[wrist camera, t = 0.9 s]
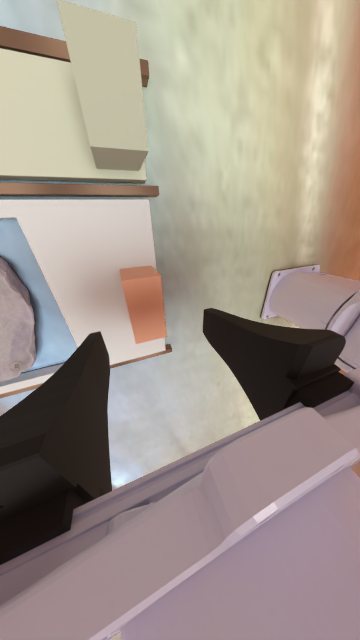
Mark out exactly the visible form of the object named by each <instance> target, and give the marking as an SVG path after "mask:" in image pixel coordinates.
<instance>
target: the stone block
mask: <svg viewBox="0 0 360 640" xmlns="http://www.w3.org/2000/svg"><path fill="white" fill-rule="evenodd" d="M34 325H35V322H34V313H33V308H32V306H31V304H30V298H29V291H28V289H27V288H26V287H25V286H24V285H23V284H22V283H21V281H20V280H19V278H18V277H17V275H16V274H15V273H14V272H13V271H12V269H11V268H10V266H9V265H8V263H7V262H6V261H5V260H4V259H2V258H1V257H0V382H1V381H6V380H9V379H13V378H16V377H18V376H20V375H21V373H22V371H25V370H28V369H30V367H31V366H32V365H33V364H34V362H35V361H36V349H35V342H34V341H35V335H34Z"/></svg>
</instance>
